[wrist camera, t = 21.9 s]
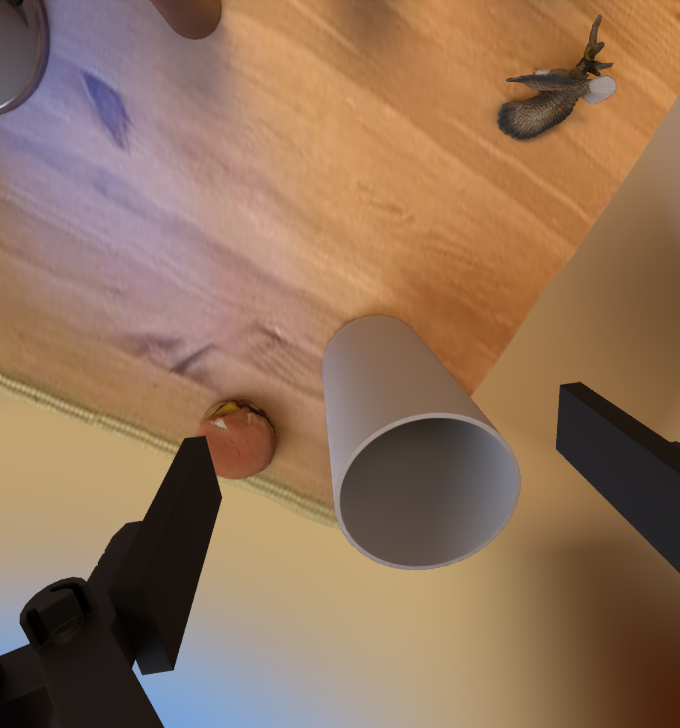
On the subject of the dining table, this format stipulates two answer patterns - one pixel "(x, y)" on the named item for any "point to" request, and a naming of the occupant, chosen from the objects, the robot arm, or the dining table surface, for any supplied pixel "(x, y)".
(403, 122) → the dining table surface
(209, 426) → the burger
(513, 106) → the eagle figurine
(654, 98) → the dining table surface
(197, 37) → the pepper mill
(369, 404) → the cylinder vase
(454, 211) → the dining table surface
